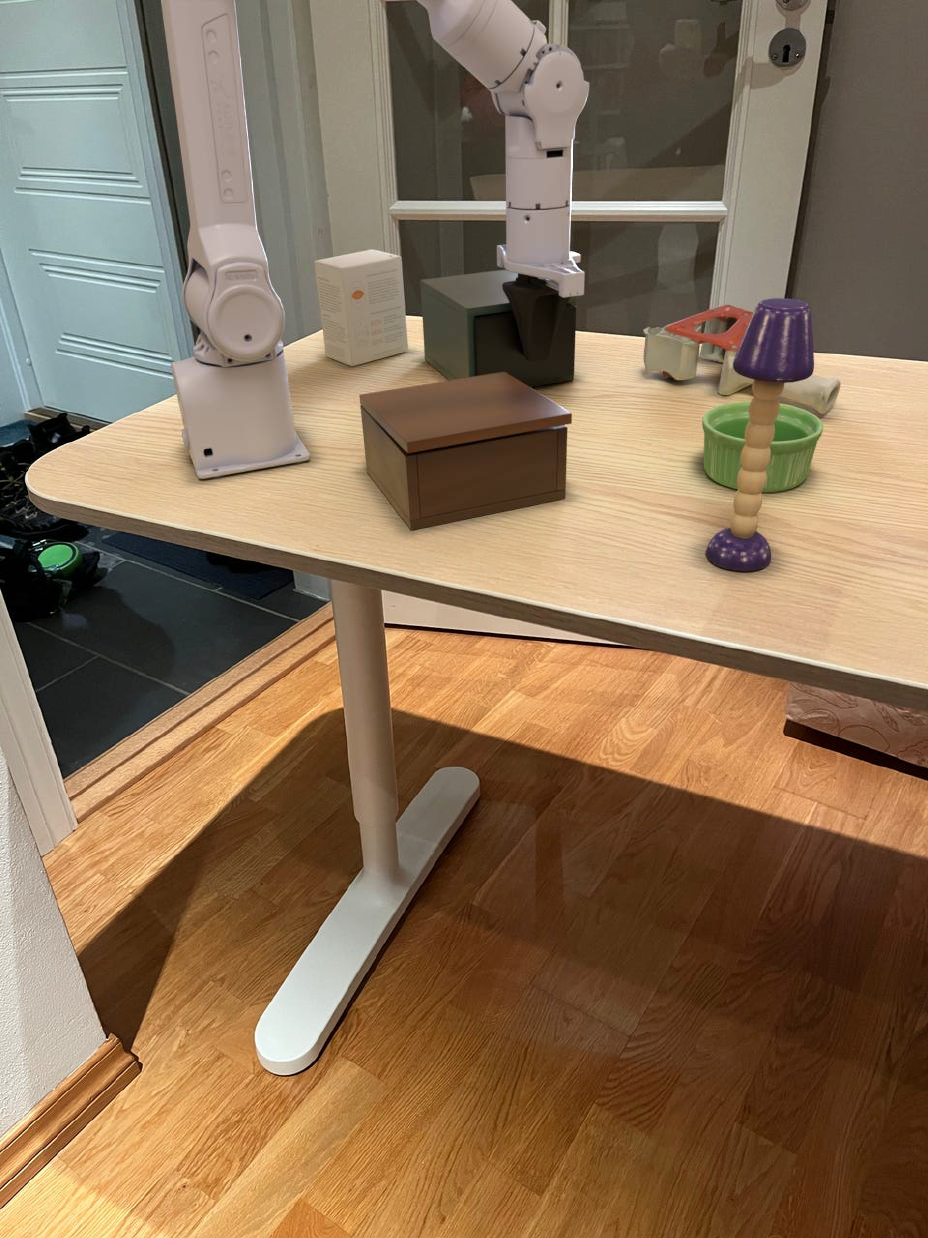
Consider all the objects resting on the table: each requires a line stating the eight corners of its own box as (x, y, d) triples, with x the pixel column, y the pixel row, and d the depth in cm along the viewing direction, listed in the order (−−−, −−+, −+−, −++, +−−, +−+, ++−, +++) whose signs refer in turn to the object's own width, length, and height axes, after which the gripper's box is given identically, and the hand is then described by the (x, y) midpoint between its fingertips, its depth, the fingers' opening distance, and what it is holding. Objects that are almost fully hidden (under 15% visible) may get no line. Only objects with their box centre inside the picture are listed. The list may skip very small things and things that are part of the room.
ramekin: (697, 448, 77) (702, 398, 74) (808, 454, 75) (817, 402, 73) (696, 493, 70) (702, 439, 67) (819, 500, 68) (830, 445, 65)
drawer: (579, 378, 91) (582, 309, 87) (484, 394, 88) (482, 323, 84) (523, 343, 101) (523, 280, 98) (436, 356, 98) (433, 292, 95)
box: (565, 498, 70) (567, 426, 66) (410, 530, 66) (405, 456, 63) (505, 446, 79) (505, 381, 76) (366, 472, 75) (360, 404, 72)
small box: (381, 342, 107) (373, 248, 101) (409, 352, 103) (403, 254, 98) (324, 356, 103) (312, 259, 97) (351, 367, 99) (340, 267, 94)
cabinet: (574, 379, 93) (576, 293, 88) (469, 397, 90) (466, 308, 85) (519, 345, 104) (519, 267, 99) (424, 360, 101) (420, 279, 96)
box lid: (571, 423, 66) (572, 412, 65) (407, 453, 62) (406, 442, 62) (505, 380, 76) (504, 371, 75) (360, 404, 72) (359, 394, 72)
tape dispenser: (840, 434, 82) (796, 354, 98) (855, 378, 79) (808, 305, 95) (644, 425, 83) (633, 347, 99) (652, 369, 80) (639, 299, 96)
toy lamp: (728, 533, 64) (762, 289, 55) (791, 553, 61) (838, 299, 52) (694, 559, 61) (724, 305, 52) (759, 581, 58) (803, 317, 49)
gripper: (619, 211, 75) (610, 373, 82) (543, 190, 86) (542, 334, 94) (542, 220, 73) (540, 385, 80) (475, 197, 84) (479, 343, 92)
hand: (536, 358), depth 87 cm, fingers closed
